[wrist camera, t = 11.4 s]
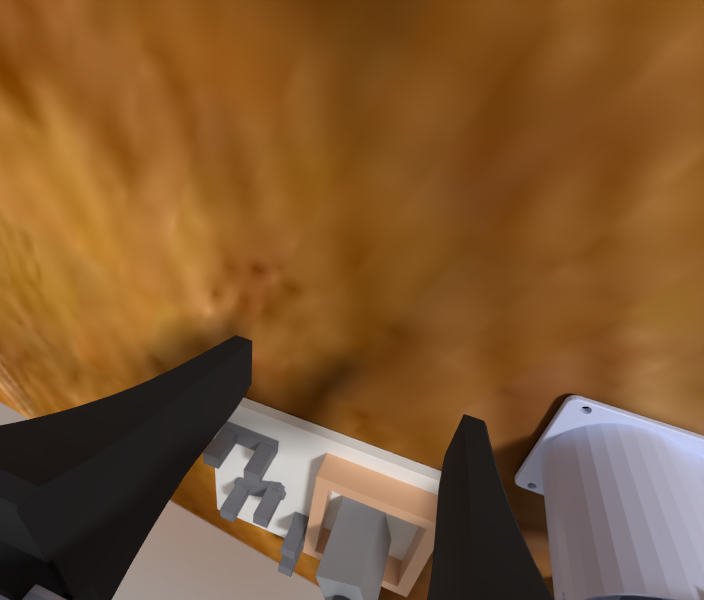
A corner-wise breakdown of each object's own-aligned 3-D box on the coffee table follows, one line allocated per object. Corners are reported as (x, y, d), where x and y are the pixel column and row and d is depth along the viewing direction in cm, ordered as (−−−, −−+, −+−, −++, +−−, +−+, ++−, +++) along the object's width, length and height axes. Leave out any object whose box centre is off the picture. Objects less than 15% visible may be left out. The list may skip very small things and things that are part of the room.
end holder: (449, 499, 27) (445, 527, 26) (411, 571, 33) (406, 597, 32) (327, 452, 29) (316, 476, 27) (312, 529, 35) (302, 552, 33)
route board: (464, 479, 27) (459, 534, 24) (408, 581, 36) (400, 630, 33) (217, 387, 30) (184, 424, 27) (222, 501, 39) (198, 539, 36)
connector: (382, 500, 30) (354, 604, 24) (391, 540, 32) (367, 644, 26) (344, 493, 31) (309, 592, 25) (356, 532, 33) (326, 631, 27)
